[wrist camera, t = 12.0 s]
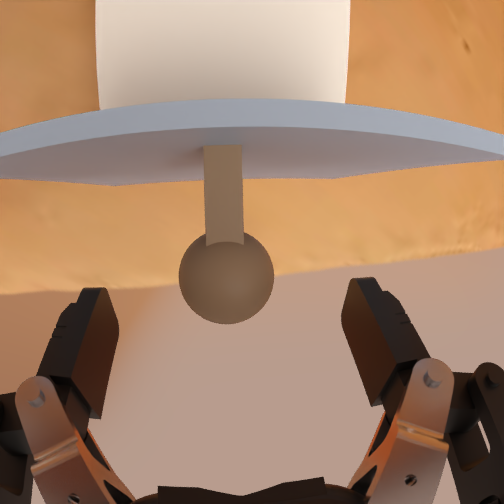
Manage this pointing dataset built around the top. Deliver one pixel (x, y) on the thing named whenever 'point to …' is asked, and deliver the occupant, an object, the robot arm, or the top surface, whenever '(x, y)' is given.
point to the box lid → (234, 168)
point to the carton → (221, 50)
